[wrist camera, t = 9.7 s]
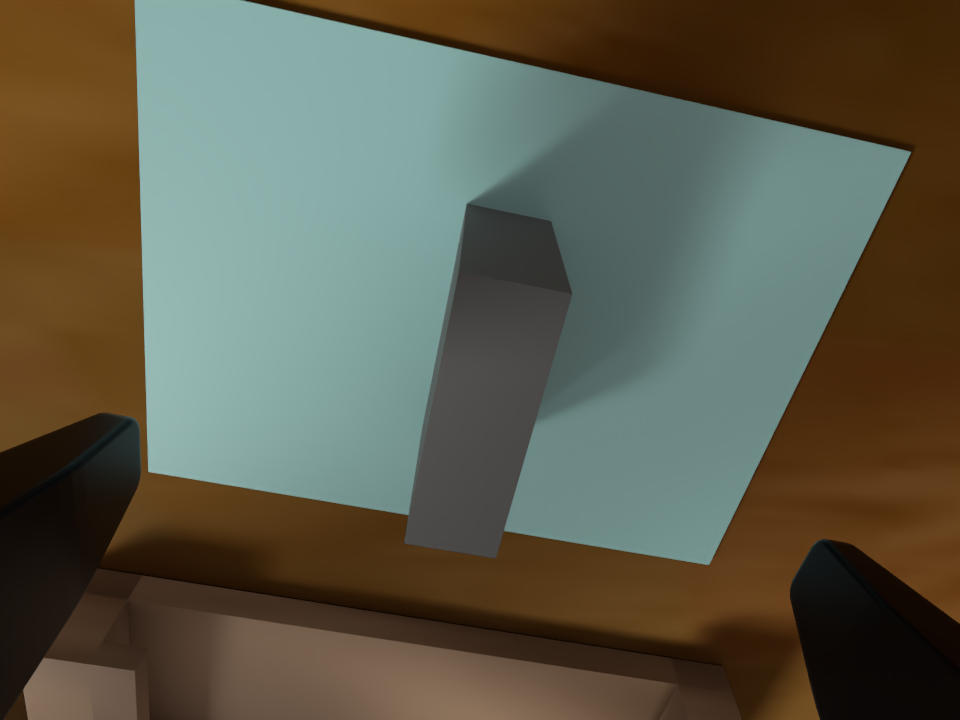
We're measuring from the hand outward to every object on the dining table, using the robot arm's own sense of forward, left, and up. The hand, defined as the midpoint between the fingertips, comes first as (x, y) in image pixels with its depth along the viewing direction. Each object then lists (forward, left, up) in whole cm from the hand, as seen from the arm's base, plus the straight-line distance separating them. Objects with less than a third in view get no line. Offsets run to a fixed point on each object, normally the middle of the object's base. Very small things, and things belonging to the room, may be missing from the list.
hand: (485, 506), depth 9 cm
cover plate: (0, 0, -6) cm, 6 cm away
